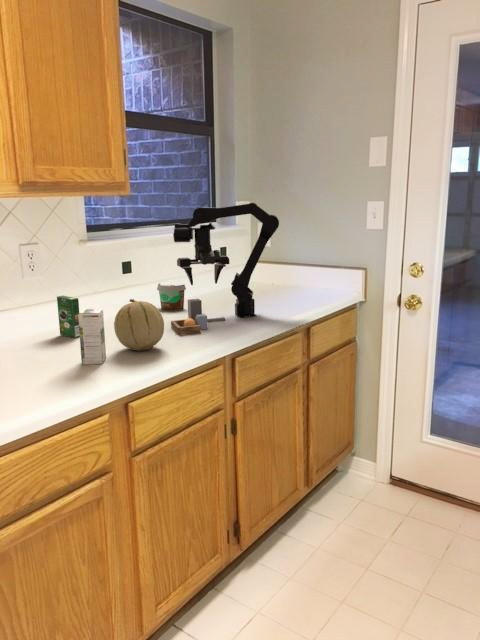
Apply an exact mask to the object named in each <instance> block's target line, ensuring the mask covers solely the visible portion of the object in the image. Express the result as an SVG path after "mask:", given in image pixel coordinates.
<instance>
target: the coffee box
mask: <svg viewBox="0 0 480 640" xmlns="http://www.w3.org/2000/svg"><path fill="white" fill-rule="evenodd" d="M56 301H57V302H56V304H57V311H58V312H57V313H58V325H59V335H61V336H63V337H69V338H71V339H72V338H73V339H78V338H80V333H79V319H78V314H79V313H80V304H79V303H80V301H79V298H78V297H72V296H67V295H57V296H56Z"/></svg>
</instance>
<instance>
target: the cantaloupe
mask: <svg viewBox="0 0 480 640" xmlns="http://www.w3.org/2000/svg"><path fill="white" fill-rule="evenodd" d="M129 302H130V303H127V304H125V305H123V306H122V307H120V309H119V310H118V311H117V313H116V315H115V317H114V322H113V328H114V334H115V336H116V339H118V341H119V343H120V344H121V345H122V346H124V347H125V348H127V349H129V350H133V351H139V352H140V351H142V352H144V351H146V350H148V349H151V348H152V347H155V346H156V345H157V344H158V343H159V342H160V341H161V340H162V339H163V335H164V332H165V320H164V317H163V315H162V313H161V311H160V310H159V309H158V308H157V307H156V306H155V305H154V304H153V303H151V302H148V301H144V300H143V301H142V300H141V301H139V300H138V301H137V300H135V299H133V298H130V299H129Z"/></svg>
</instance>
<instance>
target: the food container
mask: <svg viewBox="0 0 480 640" xmlns="http://www.w3.org/2000/svg"><path fill="white" fill-rule="evenodd" d="M156 287H157V288H156V290H157V291H158V295H159V300H160V307H161V310H162V311H168V312H169V311H181V310H184V308H185V307H184V306H185V291H186V290H187V289H186V288H187V287H186V285H185V284H179V285H174V284H170V285H169V284H167V285H161V283H160V282H159V283H158V284H157V286H156Z"/></svg>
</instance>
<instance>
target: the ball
mask: <svg viewBox="0 0 480 640" xmlns="http://www.w3.org/2000/svg"><path fill="white" fill-rule="evenodd" d="M185 319H186V320H185ZM185 319H184V320H185V321H184V327H185V326H195V325H197V323H195V321H194V320H193V319H191V318H188V317H187V318H185Z"/></svg>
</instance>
